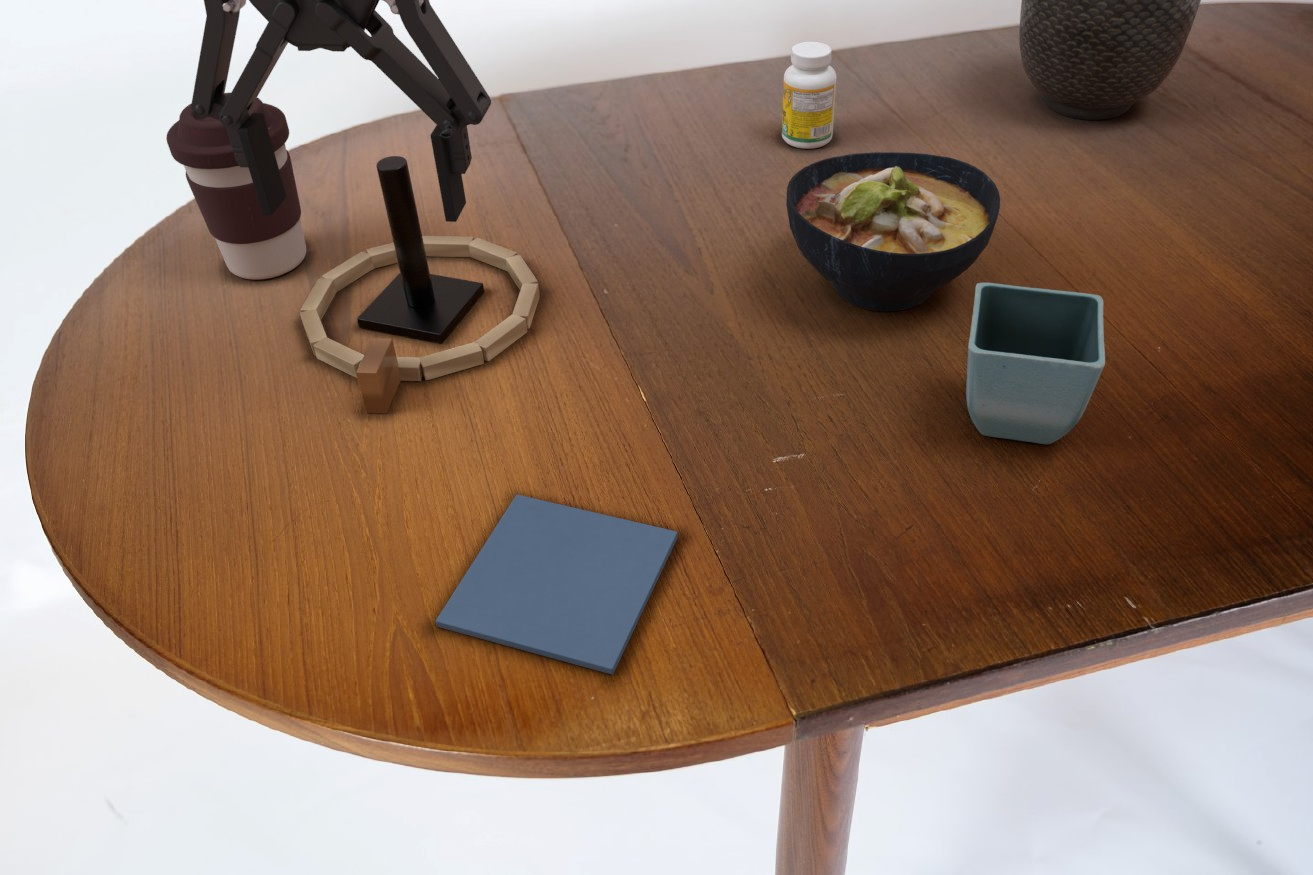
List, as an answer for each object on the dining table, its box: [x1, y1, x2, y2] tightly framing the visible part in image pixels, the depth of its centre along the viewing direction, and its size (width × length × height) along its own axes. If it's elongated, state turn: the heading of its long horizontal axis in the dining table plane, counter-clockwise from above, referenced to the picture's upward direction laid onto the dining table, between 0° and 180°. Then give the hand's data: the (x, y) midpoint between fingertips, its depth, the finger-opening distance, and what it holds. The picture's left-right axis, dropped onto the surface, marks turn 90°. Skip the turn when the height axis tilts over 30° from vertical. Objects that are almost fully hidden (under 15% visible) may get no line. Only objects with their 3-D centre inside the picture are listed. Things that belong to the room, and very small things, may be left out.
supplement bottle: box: [781, 41, 837, 150], centre depth 116 cm, size 5×5×10 cm
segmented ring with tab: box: [299, 235, 541, 415], centre depth 95 cm, size 24×20×4 cm
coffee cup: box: [165, 92, 307, 280], centre depth 100 cm, size 10×10×15 cm
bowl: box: [785, 151, 1001, 312], centre depth 95 cm, size 17×17×10 cm
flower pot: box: [965, 282, 1106, 445], centre depth 81 cm, size 9×9×9 cm
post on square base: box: [356, 155, 485, 344], centre depth 93 cm, size 8×8×14 cm
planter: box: [1018, 0, 1202, 121], centre depth 118 cm, size 17×17×16 cm
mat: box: [435, 494, 679, 676], centre depth 74 cm, size 12×12×1 cm
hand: (364, 209), depth 81 cm, fingers open, 13 cm apart
